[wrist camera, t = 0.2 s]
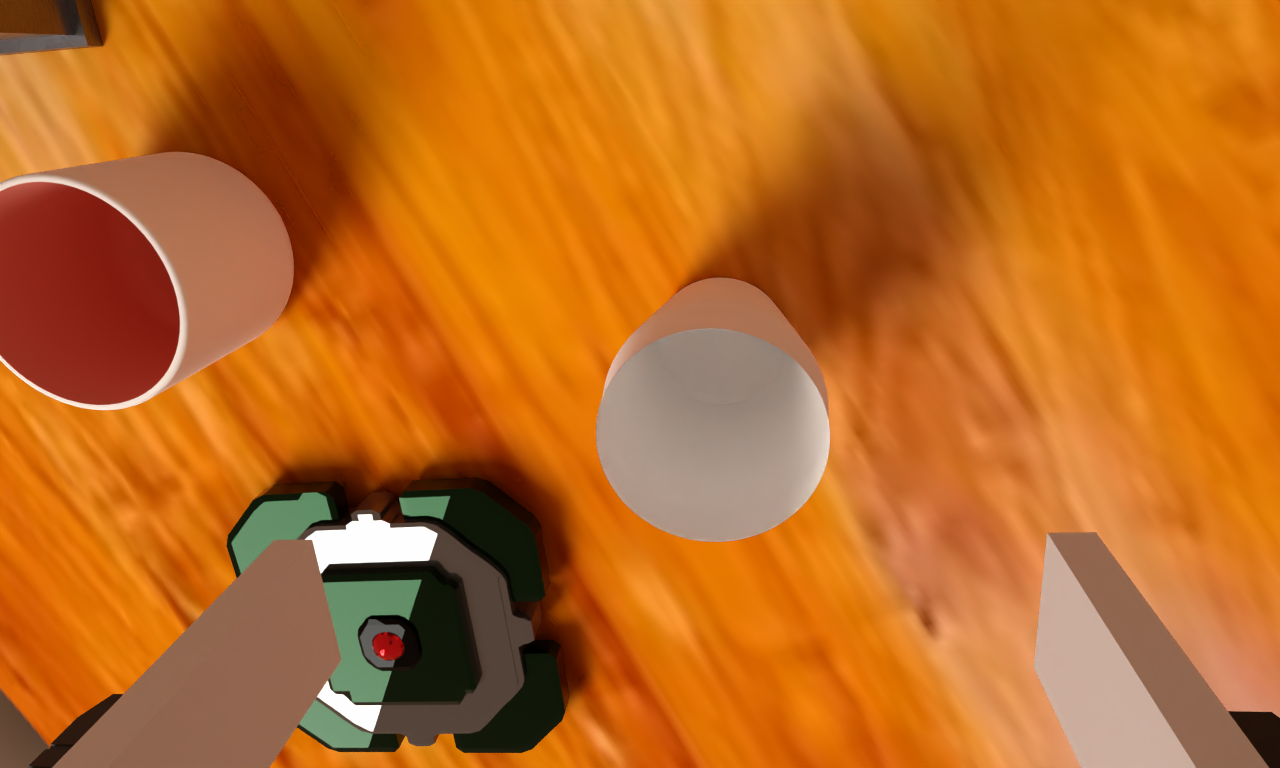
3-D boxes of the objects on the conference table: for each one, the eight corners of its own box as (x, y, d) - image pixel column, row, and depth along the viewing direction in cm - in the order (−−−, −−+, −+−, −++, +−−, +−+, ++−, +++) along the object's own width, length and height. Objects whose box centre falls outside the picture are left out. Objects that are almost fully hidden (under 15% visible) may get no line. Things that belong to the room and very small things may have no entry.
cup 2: (611, 273, 42) (563, 349, 31) (794, 234, 40) (812, 300, 29) (653, 437, 45) (623, 561, 34) (825, 407, 43) (853, 527, 32)
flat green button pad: (236, 477, 49) (188, 516, 45) (536, 462, 47) (515, 502, 43) (310, 723, 56) (274, 778, 51) (580, 722, 53) (565, 780, 49)
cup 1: (197, 105, 42) (39, 118, 32) (343, 262, 44) (235, 316, 34) (84, 235, 45) (-89, 281, 35) (226, 375, 47) (97, 453, 37)
